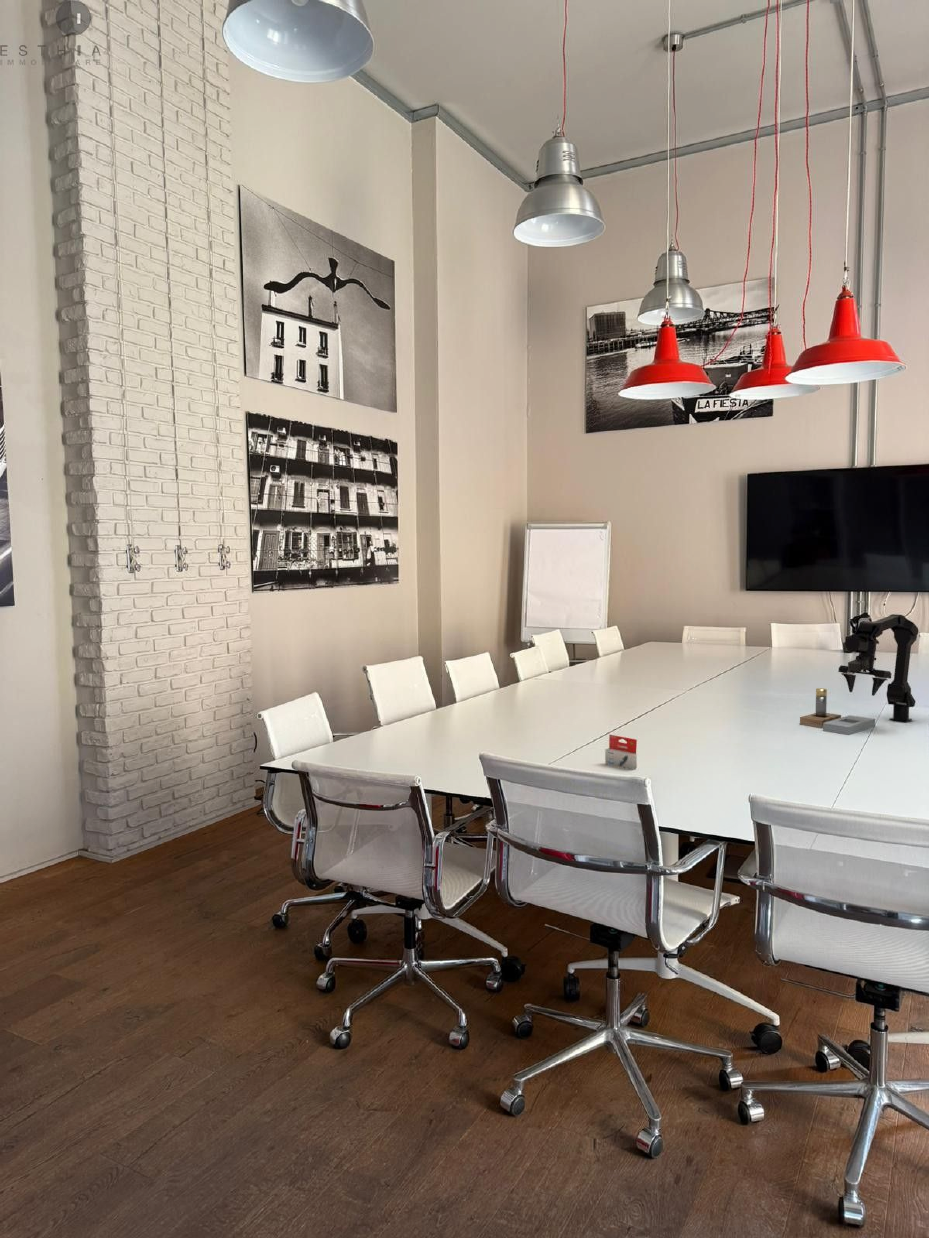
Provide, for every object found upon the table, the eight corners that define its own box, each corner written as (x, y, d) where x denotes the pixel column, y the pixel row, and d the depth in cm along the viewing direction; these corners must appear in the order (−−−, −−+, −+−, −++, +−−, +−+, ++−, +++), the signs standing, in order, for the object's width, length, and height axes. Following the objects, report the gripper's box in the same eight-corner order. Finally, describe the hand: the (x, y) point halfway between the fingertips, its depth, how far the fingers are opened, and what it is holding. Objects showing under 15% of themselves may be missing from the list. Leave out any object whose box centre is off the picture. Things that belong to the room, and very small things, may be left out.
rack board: (849, 722, 332) (849, 715, 331) (874, 726, 324) (875, 718, 324) (822, 730, 318) (823, 723, 317) (848, 734, 310) (848, 727, 310)
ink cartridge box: (632, 770, 265) (633, 740, 264) (604, 764, 273) (604, 735, 272) (637, 768, 267) (637, 739, 266) (609, 762, 275) (609, 734, 274)
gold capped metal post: (818, 721, 333) (819, 687, 332) (827, 723, 330) (828, 689, 329) (813, 723, 331) (814, 689, 330) (823, 724, 328) (823, 690, 327)
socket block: (819, 718, 339) (819, 711, 339) (841, 722, 332) (841, 714, 332) (799, 724, 329) (800, 717, 329) (821, 728, 322) (821, 720, 322)
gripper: (832, 650, 322) (827, 689, 322) (877, 654, 306) (872, 696, 306) (849, 652, 328) (844, 691, 328) (894, 657, 312) (889, 697, 312)
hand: (861, 693), depth 319 cm, fingers open, 9 cm apart
